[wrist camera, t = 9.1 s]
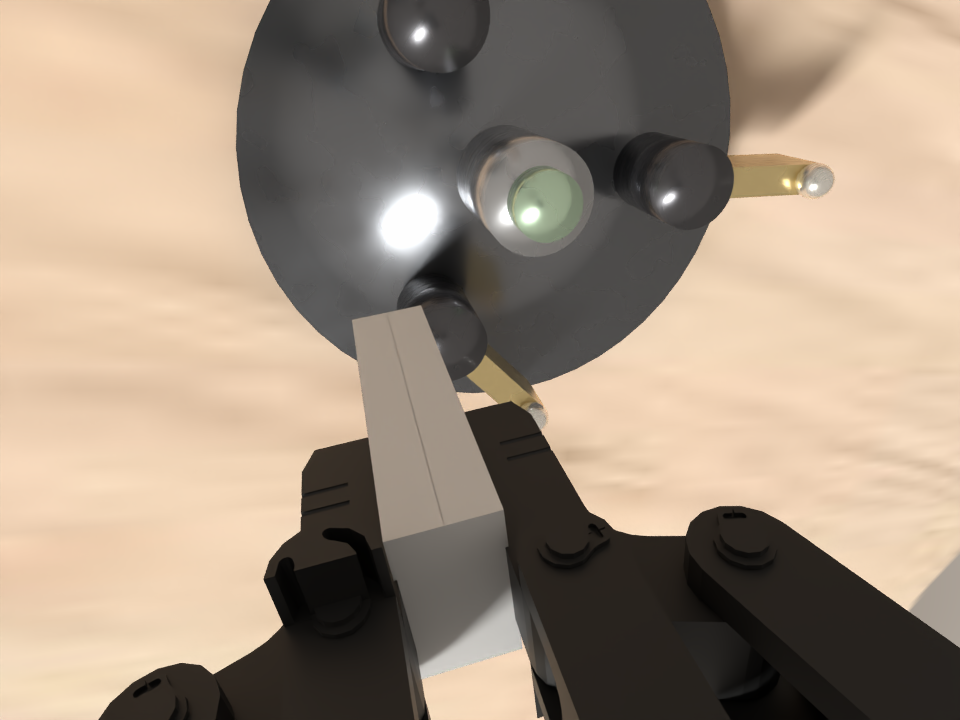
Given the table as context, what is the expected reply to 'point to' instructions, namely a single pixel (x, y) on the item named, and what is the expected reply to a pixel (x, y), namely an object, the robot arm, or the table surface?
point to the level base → (403, 142)
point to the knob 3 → (706, 178)
